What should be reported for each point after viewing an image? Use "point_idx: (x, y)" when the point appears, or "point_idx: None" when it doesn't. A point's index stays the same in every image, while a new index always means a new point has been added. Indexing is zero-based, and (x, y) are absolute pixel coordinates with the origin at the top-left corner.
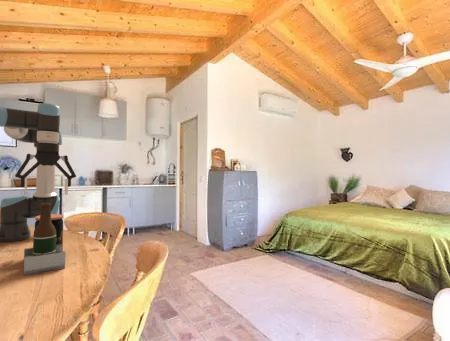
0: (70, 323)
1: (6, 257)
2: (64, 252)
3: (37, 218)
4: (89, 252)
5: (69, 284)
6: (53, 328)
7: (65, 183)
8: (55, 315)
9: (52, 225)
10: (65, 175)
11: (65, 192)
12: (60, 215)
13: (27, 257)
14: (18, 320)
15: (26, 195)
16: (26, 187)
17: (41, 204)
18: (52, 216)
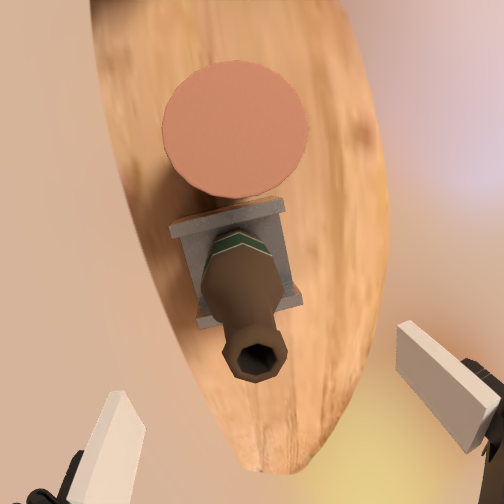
0: (305, 463)
1: (112, 129)
2: (300, 304)
3: (181, 175)
4: (348, 158)
5: (305, 379)
6: (289, 467)
7: (449, 408)
8: (289, 451)
9: (275, 306)
10: (482, 481)
11: (404, 373)
12: (292, 119)
13: (206, 327)
14: (248, 453)
15: (144, 431)
16: (132, 478)
17: (234, 375)
18: (253, 141)
